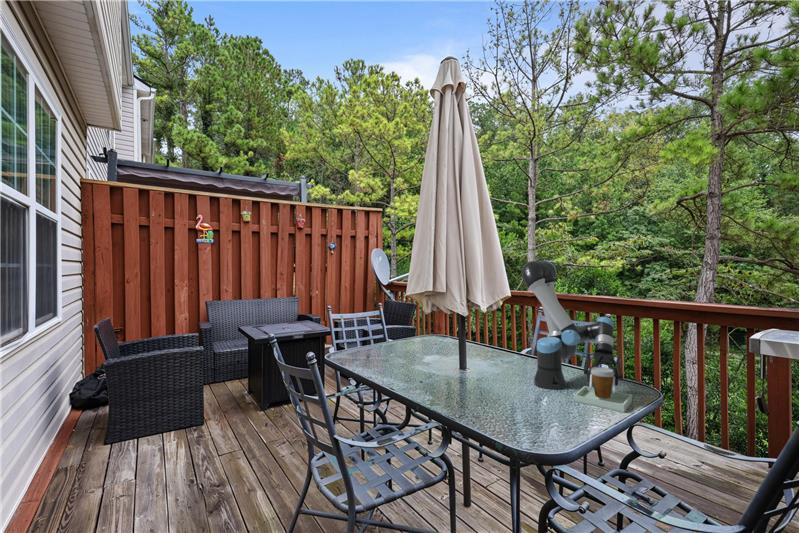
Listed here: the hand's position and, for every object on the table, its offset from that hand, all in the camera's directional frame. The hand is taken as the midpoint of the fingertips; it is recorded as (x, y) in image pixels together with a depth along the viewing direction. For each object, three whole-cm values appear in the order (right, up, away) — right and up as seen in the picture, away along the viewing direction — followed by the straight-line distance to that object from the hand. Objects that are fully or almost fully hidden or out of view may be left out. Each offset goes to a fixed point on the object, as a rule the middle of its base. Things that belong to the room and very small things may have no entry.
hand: (602, 390), depth 171 cm
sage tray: (+2, -6, +3) cm, 7 cm away
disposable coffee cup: (+2, -4, +3) cm, 5 cm away
